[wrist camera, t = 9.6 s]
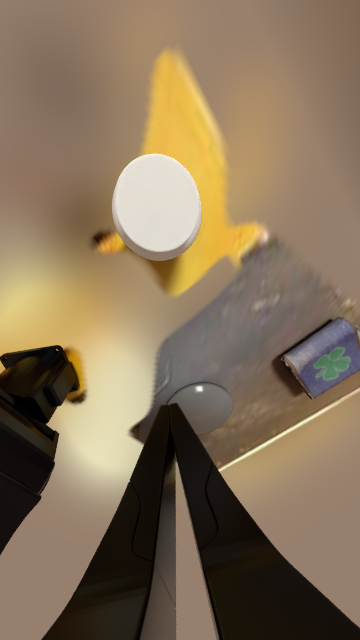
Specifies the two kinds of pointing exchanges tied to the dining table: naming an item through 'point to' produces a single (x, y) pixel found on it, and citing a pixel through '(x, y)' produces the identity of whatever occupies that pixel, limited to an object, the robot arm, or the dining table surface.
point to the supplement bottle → (156, 207)
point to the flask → (325, 357)
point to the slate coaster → (204, 405)
